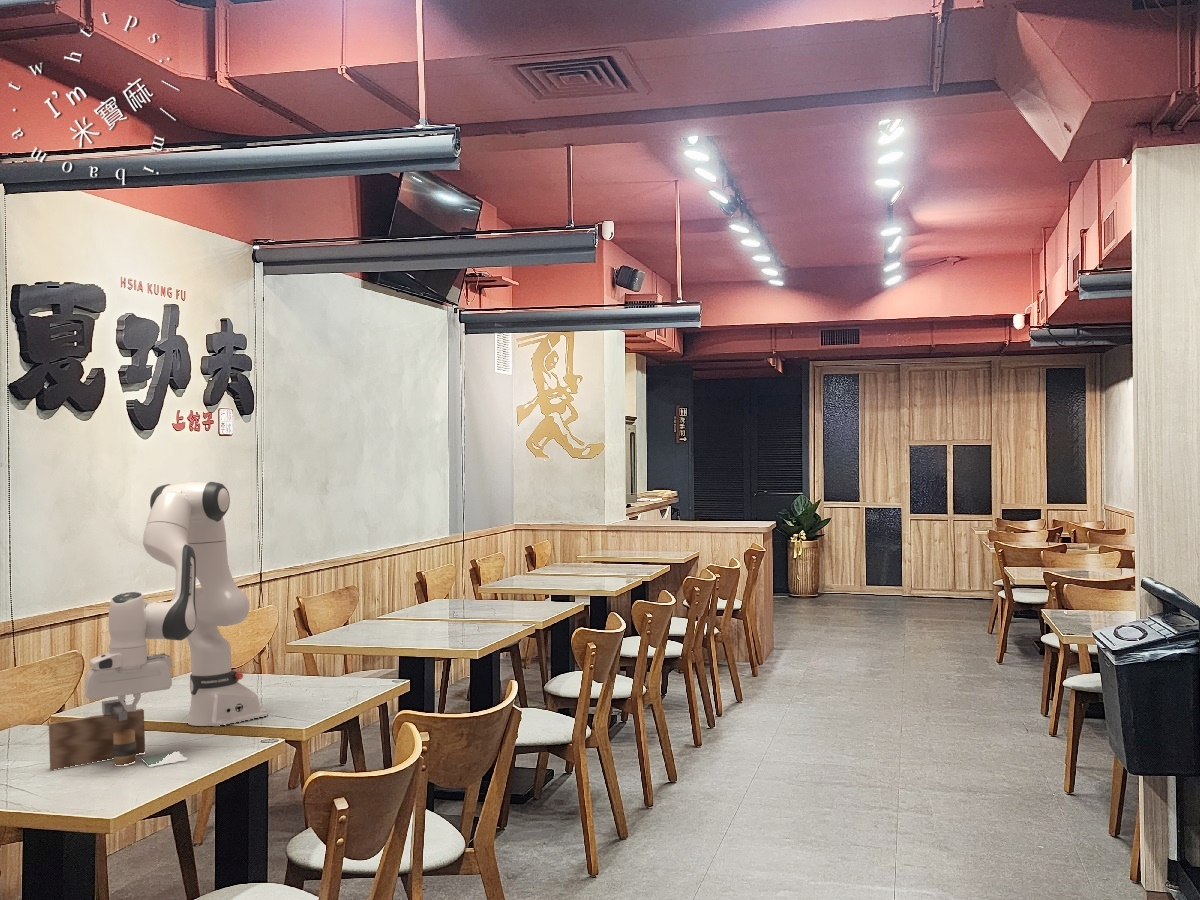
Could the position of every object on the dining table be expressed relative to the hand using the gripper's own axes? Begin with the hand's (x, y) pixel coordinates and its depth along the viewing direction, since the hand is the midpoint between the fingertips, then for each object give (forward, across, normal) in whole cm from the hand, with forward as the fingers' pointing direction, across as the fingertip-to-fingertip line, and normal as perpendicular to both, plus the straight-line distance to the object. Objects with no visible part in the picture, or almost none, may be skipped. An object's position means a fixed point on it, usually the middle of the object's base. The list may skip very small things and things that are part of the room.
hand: (129, 712), depth 269 cm
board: (+13, +6, -7) cm, 16 cm away
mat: (+13, -7, +4) cm, 15 cm away
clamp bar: (+1, +2, -2) cm, 3 cm away
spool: (+13, +1, 0) cm, 13 cm away
